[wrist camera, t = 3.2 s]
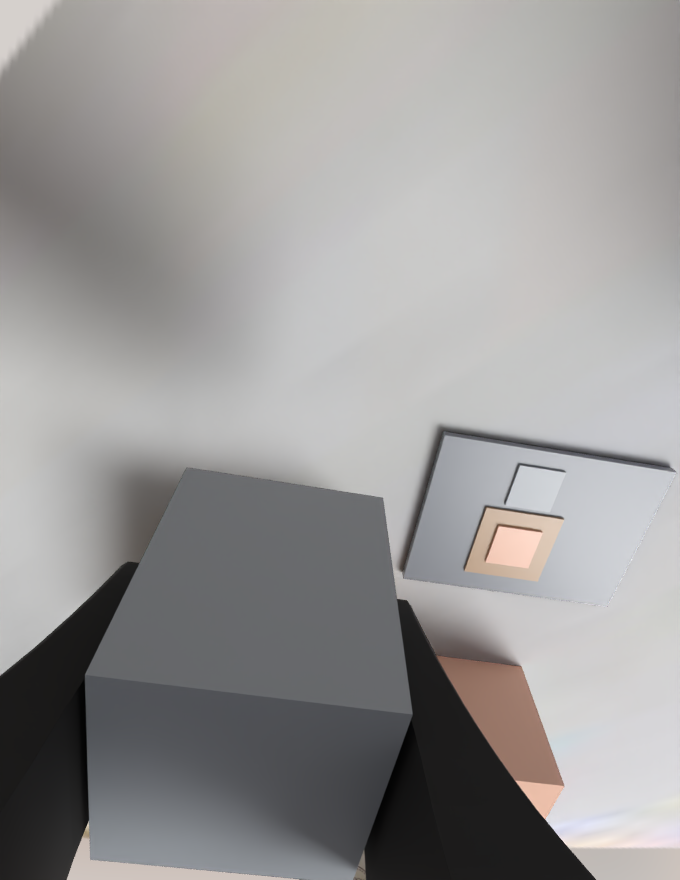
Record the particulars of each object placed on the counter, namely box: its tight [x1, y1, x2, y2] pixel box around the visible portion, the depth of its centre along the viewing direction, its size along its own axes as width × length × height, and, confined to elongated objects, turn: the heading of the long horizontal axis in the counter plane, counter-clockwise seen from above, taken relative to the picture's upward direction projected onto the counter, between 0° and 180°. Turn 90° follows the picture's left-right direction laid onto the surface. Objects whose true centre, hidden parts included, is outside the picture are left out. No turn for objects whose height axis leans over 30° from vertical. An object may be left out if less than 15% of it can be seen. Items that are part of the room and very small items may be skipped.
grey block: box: [85, 468, 413, 880], centre depth 10 cm, size 4×4×5 cm
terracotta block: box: [437, 656, 564, 819], centre depth 22 cm, size 4×4×5 cm
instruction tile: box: [402, 431, 677, 607], centre depth 20 cm, size 8×6×1 cm
